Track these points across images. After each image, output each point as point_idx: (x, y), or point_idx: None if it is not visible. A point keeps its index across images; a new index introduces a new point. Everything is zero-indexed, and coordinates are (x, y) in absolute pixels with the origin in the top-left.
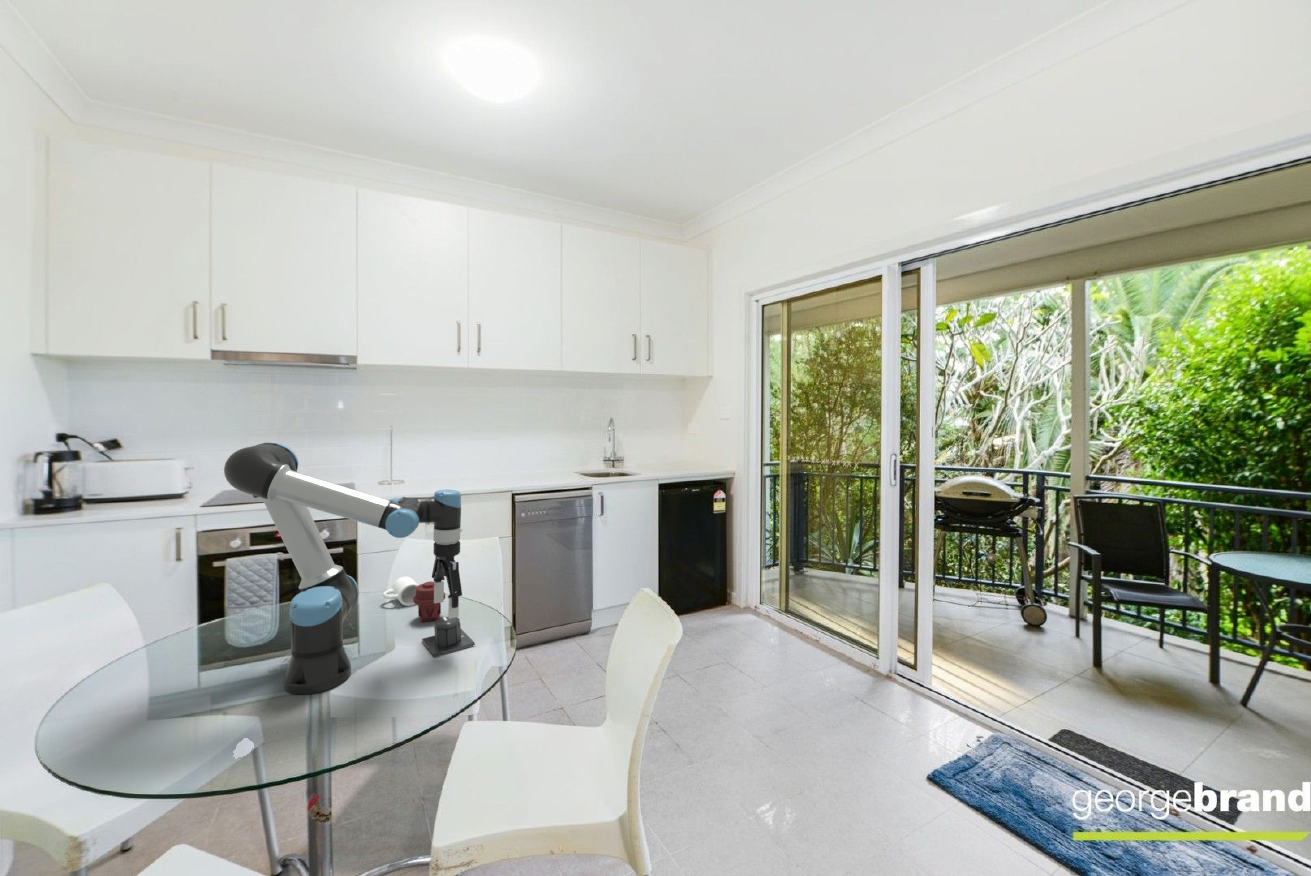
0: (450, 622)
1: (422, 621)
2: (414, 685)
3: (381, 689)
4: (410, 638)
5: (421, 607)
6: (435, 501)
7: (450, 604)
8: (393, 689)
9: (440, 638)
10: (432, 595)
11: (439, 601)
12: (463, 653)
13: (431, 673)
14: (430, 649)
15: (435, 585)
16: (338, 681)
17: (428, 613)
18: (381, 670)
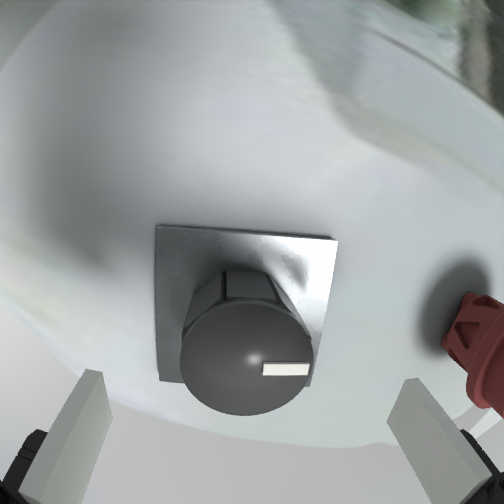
0: (224, 374)
1: (463, 297)
2: (26, 109)
3: (75, 23)
4: (391, 215)
5: (496, 314)
6: None
7: (45, 446)
8: (49, 52)
9: (210, 289)
10: (500, 374)
11: (398, 407)
12: (125, 322)
13: (53, 175)
14: (209, 231)
15: (467, 471)
16: None
17: (468, 325)
18: (196, 35)
